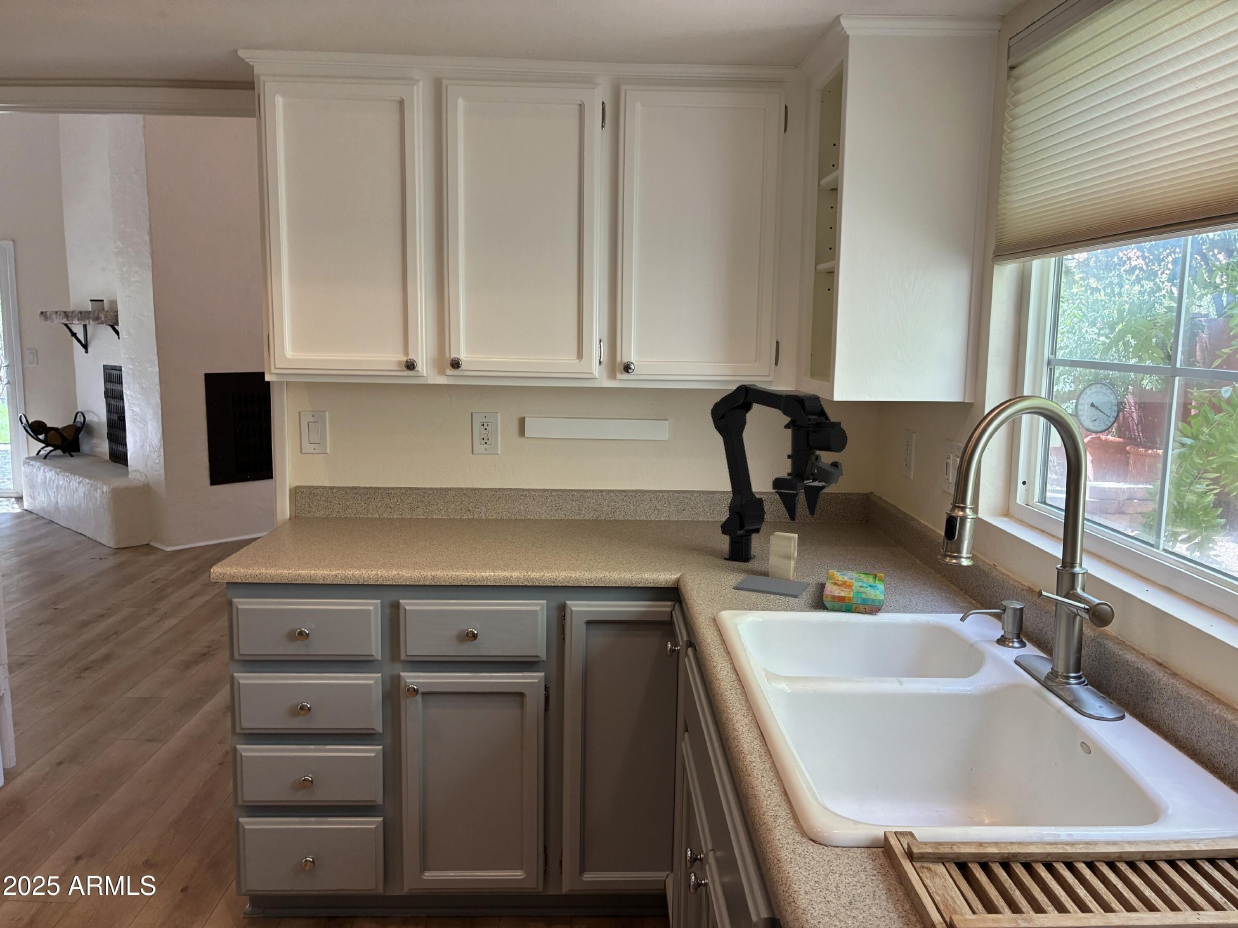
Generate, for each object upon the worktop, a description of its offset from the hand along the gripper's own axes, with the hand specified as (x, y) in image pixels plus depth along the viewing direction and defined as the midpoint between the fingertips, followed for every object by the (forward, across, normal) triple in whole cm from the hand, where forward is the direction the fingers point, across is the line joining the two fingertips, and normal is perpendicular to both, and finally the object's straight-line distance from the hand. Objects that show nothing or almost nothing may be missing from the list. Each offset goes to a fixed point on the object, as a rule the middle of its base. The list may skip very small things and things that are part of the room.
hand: (803, 518), depth 210 cm
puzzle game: (+15, -9, -16) cm, 24 cm away
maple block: (+14, -3, +3) cm, 14 cm away
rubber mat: (+14, -12, +1) cm, 18 cm away
